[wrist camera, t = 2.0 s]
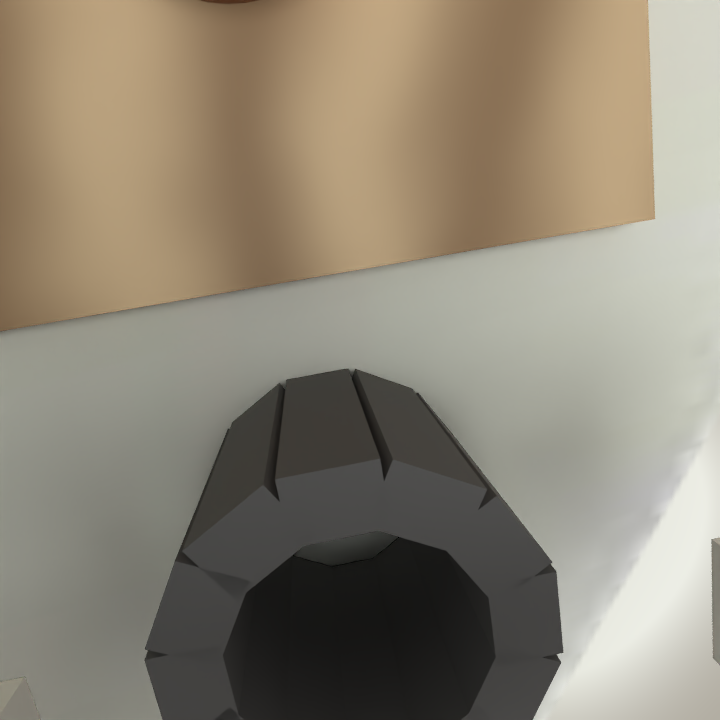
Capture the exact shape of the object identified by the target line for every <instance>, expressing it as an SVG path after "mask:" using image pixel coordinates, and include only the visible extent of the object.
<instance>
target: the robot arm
mask: <svg viewBox="0 0 720 720" xmlns="http://www.w3.org/2000/svg"><path fill="white" fill-rule="evenodd" d="M712 613H713V614H712V619H713V620H712V622H713V658H714V660H715V661H716V662H717V663H718V664H719V665H720V538H715V539H712ZM0 720H41V719H40V716H39V714H38V711H37V708H36V705H35V703H34V700H33V697H32V694H31V692H30V689H29V686H28V684H27V681H26V678H25V677H21V678H16V679H11V680H6V681H1V682H0Z"/></svg>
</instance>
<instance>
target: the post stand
mask: <svg viewBox="0 0 720 720" xmlns="http://www.w3.org/2000/svg"><path fill="white" fill-rule="evenodd" d="M652 219H655V206H654V175H653V144H652V113H651V82H650V51H649V20H648V0H0V331H4V330H10V329H16V328H22V327H28V326H33V325H39V324H45V323H51V322H57V321H63V320H68V319H74V318H80V317H86V316H92V315H98V314H103V313H109V312H115V311H121V310H127V309H133V308H138V307H144V306H150V305H156V304H162V303H168V302H173V301H179V300H185V299H191V298H197V297H203V296H208V295H214V294H220V293H226V292H232V291H238V290H243V289H249V288H255V287H261V286H267V285H273V284H278V283H284V282H290V281H296V280H302V279H308V278H313V277H319V276H325V275H331V274H337V273H343V272H348V271H354V270H360V269H366V268H372V267H378V266H383V265H389V264H395V263H401V262H407V261H413V260H418V259H424V258H430V257H436V256H442V255H448V254H453V253H459V252H465V251H471V250H477V249H483V248H488V247H494V246H500V245H506V244H512V243H518V242H523V241H529V240H535V239H541V238H547V237H553V236H558V235H564V234H570V233H576V232H582V231H588V230H593V229H599V228H605V227H611V226H617V225H623V224H628V223H634V222H640V221H646V220H652Z"/></svg>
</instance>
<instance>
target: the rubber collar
mask: <svg viewBox="0 0 720 720" xmlns="http://www.w3.org/2000/svg"><path fill="white" fill-rule="evenodd" d="M375 531H380V532H384V533H387V534H391V535H394V536H398V537H399V538H398V539H397V540H396V541H394V542H393V543H392V544H391V545H389V546H388V547H387V548H386V549H384V550H383V551H382V552H381V553H379V554H378V555H377V556H376V557H374V558H373V559H368V560H363V561H358V562H353V563H349V564H344V565H339V566H334V567H331V566H327V565H323V564H320V563H316V562H312V561H309V560H305V559H301V558H298V557H294V556H292V555H293V554H295V553H296V552H297V551H298V550H300V549H301V548H302V547H303V546H307V545H312V544H317V543H322V542H327V541H331V540H336V539H341V538H346V537H351V536H356V535H361V534H366V533H370V532H375ZM551 563H552V561H551V560H550V559H549V557H548V556H547V555H546V553H545V552H544V551H543V550H542V548H541V547H540V546H539V544H538V543H537V542H536V541H535V539H534V538H533V537H532V535H531V534H530V533H529V532H528V530H527V529H526V528H525V526H524V525H523V524H522V523H521V521H520V520H519V519H518V518H517V516H516V515H515V514H514V512H513V511H512V510H511V509H510V507H509V506H508V505H507V503H506V502H505V501H504V500H503V498H502V497H501V496H500V494H499V493H498V492H497V491H496V489H495V488H494V487H493V486H492V484H491V483H490V482H489V480H488V479H487V478H486V477H485V475H484V474H483V473H482V471H481V470H480V469H479V468H478V466H477V465H476V464H475V462H474V461H473V460H472V459H471V457H470V456H469V455H468V453H467V452H466V451H465V450H464V448H463V447H462V446H461V445H460V443H459V442H458V441H457V439H456V438H455V437H454V436H453V434H452V433H451V432H450V431H449V430H448V428H447V427H446V426H445V425H444V424H443V422H442V421H441V420H440V419H439V418H438V416H437V415H436V414H435V413H434V411H433V410H432V409H431V408H430V407H429V405H428V404H427V403H426V402H425V401H424V399H423V398H422V397H421V396H420V395H419V393H417V394H416V393H415V392H414V391H413V389H411V388H409V387H406V386H403V385H400V384H397V383H394V382H391V381H388V380H385V379H383V378H380V377H377V376H374V375H371V374H368V373H365V372H362V371H359V370H356V369H355V372H354V375H353V377H352V378H351V376H350V373H349V370H348V369H343V370H338V371H332V372H327V373H322V374H316V375H311V376H305V377H300V378H294V379H289V380H287V381H286V390H285V388H284V387H283V386H282V385H281V384H280V383H279V384H278V385H277V386H276V387H274V388H273V389H272V390H271V391H270V392H268V393H267V394H266V395H265V396H264V397H262V398H261V399H260V400H259V401H258V402H256V403H255V404H254V405H253V406H252V407H250V408H249V409H248V410H247V411H246V412H244V413H243V414H242V415H241V416H240V417H238V418H237V419H236V420H235V421H234V422H232V425H231V427H230V429H228V430H227V433H226V435H225V438H224V440H223V443H222V445H221V448H220V450H219V453H218V455H217V458H216V460H215V463H214V465H213V468H212V470H211V473H210V475H209V478H208V480H207V483H206V485H205V488H204V490H203V493H202V495H201V498H200V500H199V503H198V505H197V508H196V510H195V513H194V515H193V518H192V520H191V523H190V525H189V528H188V530H187V532H186V535H185V537H184V540H183V542H182V545H181V547H180V550H179V552H178V555H177V557H176V560H175V563H174V566H173V568H172V571H171V574H170V577H169V580H168V583H167V586H166V589H165V592H164V595H163V598H162V601H161V603H160V606H159V609H158V612H157V615H156V618H155V621H154V624H153V627H152V630H151V633H150V635H149V638H148V641H147V644H146V647H145V649H146V650H148V652H147V655H146V658H145V663H146V667H147V670H148V673H149V676H150V680H151V683H152V686H153V689H154V693H155V696H156V699H157V703H158V706H159V709H160V712H161V716H162V719H163V720H533V718H534V716H535V714H536V712H537V710H538V708H539V706H540V704H541V702H542V700H543V698H544V696H545V694H546V692H547V690H548V688H549V686H550V684H551V682H552V680H553V678H554V676H555V674H556V672H557V670H558V668H559V666H560V664H561V661H560V660H559V658H558V656H557V655H556V654H559V653H563V644H562V632H561V621H560V609H559V598H558V586H557V575H556V571H555V569H554V568H553V567H552V566H551Z"/></svg>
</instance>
